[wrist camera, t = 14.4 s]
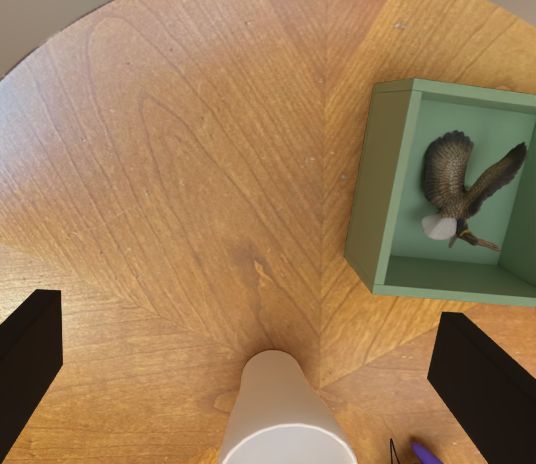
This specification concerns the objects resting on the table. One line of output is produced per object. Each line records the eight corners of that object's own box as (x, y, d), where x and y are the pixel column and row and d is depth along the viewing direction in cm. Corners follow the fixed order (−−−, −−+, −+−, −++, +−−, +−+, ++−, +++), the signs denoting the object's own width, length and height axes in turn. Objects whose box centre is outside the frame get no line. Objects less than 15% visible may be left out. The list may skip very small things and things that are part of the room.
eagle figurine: (503, 234, 41) (533, 136, 37) (497, 268, 35) (532, 157, 31) (418, 215, 44) (437, 123, 40) (400, 243, 38) (421, 139, 35)
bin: (373, 83, 38) (414, 77, 30) (542, 106, 40) (625, 106, 32) (343, 256, 42) (371, 294, 34) (497, 270, 44) (561, 309, 36)
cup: (327, 411, 47) (365, 528, 34) (227, 428, 46) (227, 553, 34) (317, 321, 44) (354, 411, 31) (211, 338, 44) (203, 436, 31)
